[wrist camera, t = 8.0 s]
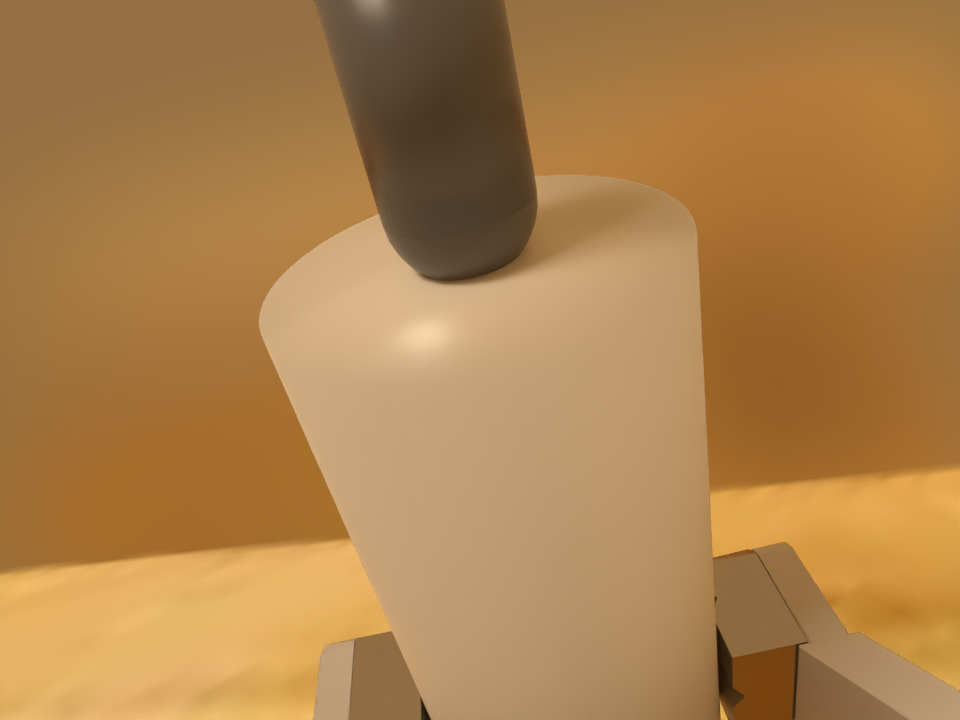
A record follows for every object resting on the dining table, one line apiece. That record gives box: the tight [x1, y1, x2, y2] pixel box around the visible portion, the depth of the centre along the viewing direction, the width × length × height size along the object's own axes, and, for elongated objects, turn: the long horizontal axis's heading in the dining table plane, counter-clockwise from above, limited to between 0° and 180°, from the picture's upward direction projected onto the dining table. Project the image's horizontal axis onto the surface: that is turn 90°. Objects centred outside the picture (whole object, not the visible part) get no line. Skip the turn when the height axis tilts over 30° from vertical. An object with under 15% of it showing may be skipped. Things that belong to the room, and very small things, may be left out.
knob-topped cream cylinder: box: [259, 0, 721, 720], centre depth 9 cm, size 4×4×17 cm
